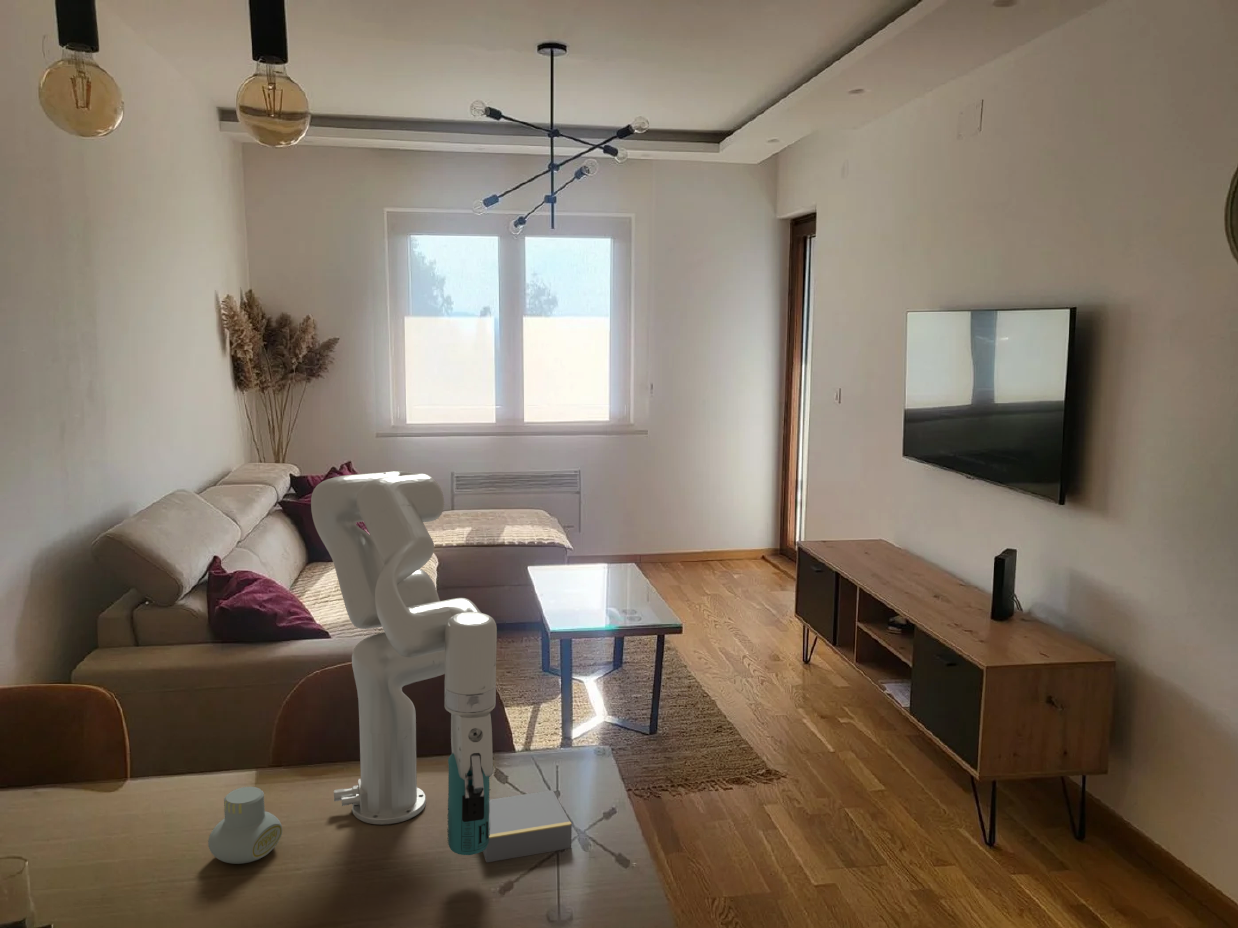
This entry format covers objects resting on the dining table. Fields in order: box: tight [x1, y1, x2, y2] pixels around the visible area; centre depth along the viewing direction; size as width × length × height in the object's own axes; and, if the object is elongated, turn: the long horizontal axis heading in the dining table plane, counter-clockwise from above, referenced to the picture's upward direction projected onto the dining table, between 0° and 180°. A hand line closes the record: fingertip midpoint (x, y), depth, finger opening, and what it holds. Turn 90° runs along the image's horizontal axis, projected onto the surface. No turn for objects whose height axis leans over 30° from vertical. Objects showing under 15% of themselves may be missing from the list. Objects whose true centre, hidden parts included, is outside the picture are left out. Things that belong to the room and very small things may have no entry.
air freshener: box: [207, 786, 283, 865], centre depth 146 cm, size 11×8×10 cm
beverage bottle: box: [446, 733, 491, 856], centre depth 139 cm, size 6×7×20 cm
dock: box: [482, 789, 573, 863], centre depth 153 cm, size 14×12×4 cm
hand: (468, 806), depth 139 cm, fingers closed on beverage bottle, 6 cm apart
